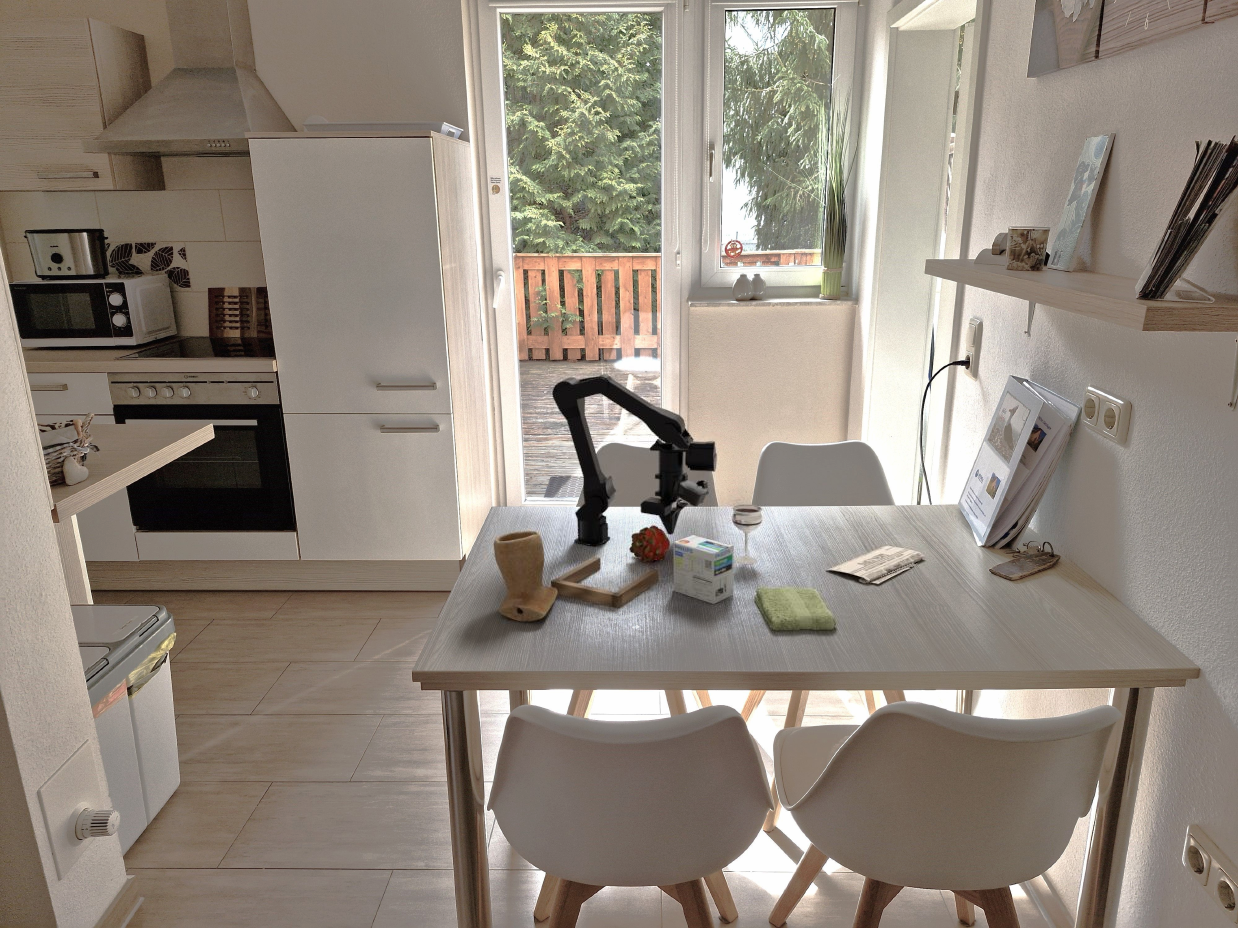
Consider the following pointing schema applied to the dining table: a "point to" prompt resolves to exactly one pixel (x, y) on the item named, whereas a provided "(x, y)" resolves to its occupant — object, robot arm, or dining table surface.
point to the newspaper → (879, 563)
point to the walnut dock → (570, 588)
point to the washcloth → (794, 608)
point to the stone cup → (523, 576)
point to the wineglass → (746, 525)
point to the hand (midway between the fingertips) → (670, 533)
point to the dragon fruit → (650, 544)
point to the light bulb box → (703, 568)
